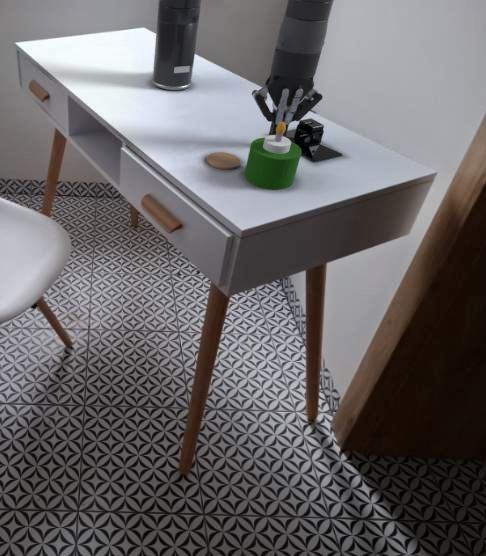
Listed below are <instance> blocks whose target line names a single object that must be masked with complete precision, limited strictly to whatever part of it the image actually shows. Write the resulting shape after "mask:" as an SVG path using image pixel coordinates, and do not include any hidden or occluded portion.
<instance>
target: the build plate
mask: <svg viewBox="0 0 486 556" xmlns="http://www.w3.org/2000/svg"><path fill="white" fill-rule="evenodd" d="M324 129H325V124H323V123H321V122H319V121H317V120H315V119H313V118H312V117H311V118H305V119H301V120H300V121H298V124H296V128H295V129H290V130H289V129H288V130H287V134H286V138H288V139H289V140H290V141H291V142H293V143H295V144H296V145H298V146H299V147H300V148H301V151H302V153H301V156H302V157H304V158H306V159H308V160H309V161H311V162H312V163H318V162H322V161H327V160H331V159H335V158H339V157H343V153H342V152H340V151H338V150H336V149H335V148H333V147H331V146H330V145H328V144H326V143H324V142H322V139H323V137H324V132H325V130H324Z"/></svg>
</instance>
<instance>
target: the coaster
mask: <svg viewBox="0 0 486 556" xmlns="http://www.w3.org/2000/svg"><path fill="white" fill-rule="evenodd" d="M206 162H207V164H208V165H209V166H211V167H213V168H216V169H219V170H234V169H237V168H238V167H240V166H241V159H240V158H239V157H238V156H237V155H235V154H233V153H229V152H225V151H216V152H212V153H210V154H208V155H207V156H206Z"/></svg>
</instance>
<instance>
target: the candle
mask: <svg viewBox="0 0 486 556" xmlns="http://www.w3.org/2000/svg"><path fill="white" fill-rule="evenodd" d="M285 130H286V125H285V123H284V122H280V123H279V124H278V126H277V128H276V135H270V136H269V135H266V136H265V137H258V138H256V139H254V140H252V141H251V143H250V147H249V152H248V157H247V161H246V165H245V169H244V170H245V171H244V178H245V180H247V182H249V183H250V184H252V185H254V186H256V187H258V188H262V189H265V190H274V191H275V190H276V191H277V190H284V189H288V188H290V187H292V186H293V184H294V181H295V177H296V174H297V170H298V167H299V163H300V160H301V157H302V155H301V153H302V151H301V148H300V147H299V146H298V145H296V144H295V143H293V142H291V141H290V140H289V139H288V138H286V137H283V133H284V132H285Z"/></svg>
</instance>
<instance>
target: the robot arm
mask: <svg viewBox="0 0 486 556" xmlns="http://www.w3.org/2000/svg"><path fill="white" fill-rule="evenodd" d="M334 1H335V0H287V1H286V6H285V10H284V14H283V18H282V21H281V23H280V26H279V30H278V35H277V40H276V44H275V48H274V53H273V57H272V62H271V66H270V73H269V76H268V78H267V79H266V80H265V83H264V86H262V87H261V88H260V89H254V90H252V92H251V96H252V98H253V100H254V101H255V103H256V105H257V107H258V109H259V110H260V113H261V114H262V116H263V117H264V118H265V120H266V121H267V122H269V123H270V127H269V132H268V136H270V135H276V128H277V126H278V124H279V123H280V122H284V123H285V125H286V130H285V132H284V133H283V137H286V134H287V131H289V126H290V124H291V123H294V122H299V121H300V120H303V118H304V117H305V116H306V115H307V114H308V113H309V112H310V111H311V110H312V109H313V108H314V107H316V106H317V104H319V103H320V102H321V101H322V100H323V94H322V93H320V92H319V90H317V89H316V88H315V82H314V77H315V75H316V72H317V69H318V65H319V61H320V58H321V54H322V51H323V47H324V45H325V39H326V35H327V31H328V23H329V19H330V15H331V11H332V7H333V4H334ZM201 5H202V0H158V4H157V16H156V17H157V18H156V19H157V20H156V29H155V31H156V32H155V41H154V42H155V44H154V46H155V47H154V55H153V56H154V57H153V66H152V67H153V68H152V69H153V70H152V77H151V83H152V85H153V86H155V87H156V88H159V89H163V90H168V91H184V90H186V89H189V88H190V87H191V86H192V78H193V72H194V71H193V70H194V64H195V63H194V61H195V54H196V47H197V38H198V30H199V22H200V14H201V7H202V6H201ZM268 95H269V97H270V99H271V101H272V104H271V105H272V106H271V107H272V111H271V110H270V108H269V106H268V104H267V102H266V101H267V100H268Z"/></svg>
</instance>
